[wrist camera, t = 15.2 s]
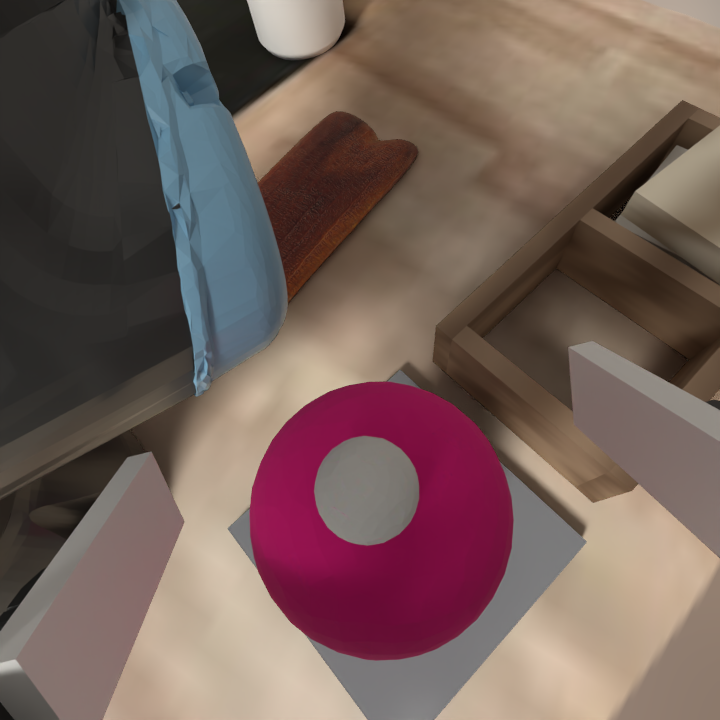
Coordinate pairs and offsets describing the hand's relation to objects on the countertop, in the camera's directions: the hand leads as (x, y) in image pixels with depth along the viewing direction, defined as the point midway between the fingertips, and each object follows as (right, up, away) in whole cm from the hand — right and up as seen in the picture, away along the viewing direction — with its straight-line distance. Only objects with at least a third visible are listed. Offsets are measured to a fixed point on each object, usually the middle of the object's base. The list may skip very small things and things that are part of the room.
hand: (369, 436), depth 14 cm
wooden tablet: (-7, +12, +23) cm, 26 cm away
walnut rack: (+17, +6, +16) cm, 24 cm away
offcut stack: (+21, +10, +17) cm, 29 cm away
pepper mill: (+2, -8, +11) cm, 14 cm away
